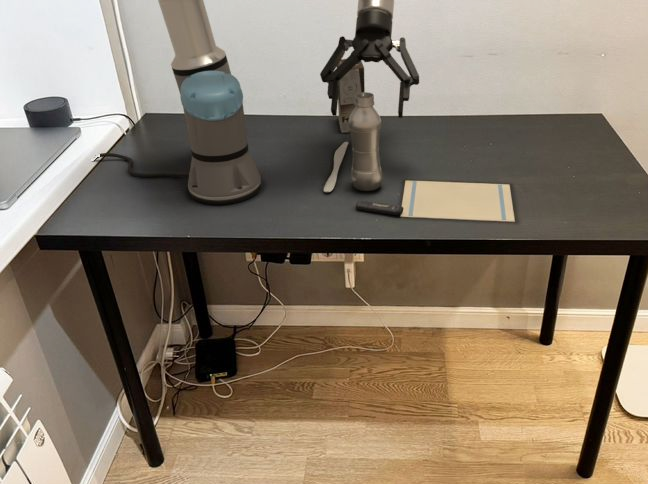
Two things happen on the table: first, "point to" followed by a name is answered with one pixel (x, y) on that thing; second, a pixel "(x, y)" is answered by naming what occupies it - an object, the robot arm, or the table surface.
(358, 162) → the plastic bottle
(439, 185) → the dish towel
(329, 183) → the butter knife
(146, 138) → the table surface
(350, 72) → the coffee box
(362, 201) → the usb stick
